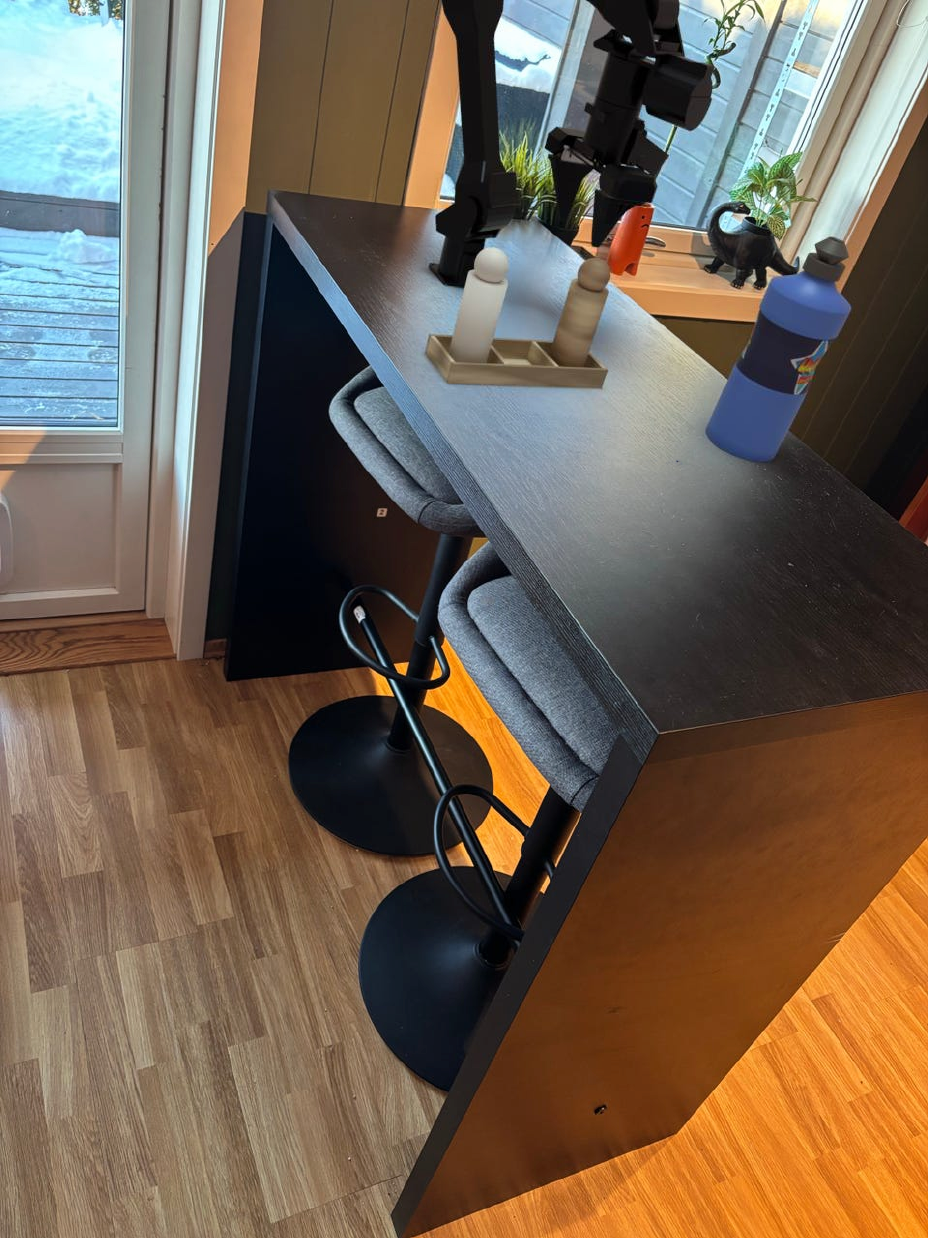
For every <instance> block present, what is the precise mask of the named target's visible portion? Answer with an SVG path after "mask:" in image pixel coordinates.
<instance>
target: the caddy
mask: <svg viewBox="0 0 928 1238" xmlns="http://www.w3.org/2000/svg"><path fill="white" fill-rule="evenodd" d="M452 336H453V334H452V335H451V334H437V333H436V334H435V333H433V334H432V333H429V334H428V339H427V343H426V346H425V351H424V354H425V356H426V357H427V358H428V360H429V361H430V362H431V363H432V365H433V366H434V367H435V369H436V370H437V371H438V372H439V374H440V375H441V377H442V378H443V379H444V381H445V382H446V383H447V384H448V385H450V384H451V385H475V386H481V385H482V386H483V385H484V386H509V387H512V386H513V387H515V386H517V387H538V388H539V387H541V388H542V387H546V388H547V387H548V388H575V389H578V388H579V389H603V386H604V383H605V381H606V378H607V376H608V373H609V369H608V368H607V367H606V366H605V365H604V364H603V363H602V362H601V361H599V359H597V357H595V355H594V354H592V353H591V352H590V351H589V353H588V356H587V359H586V362H585V365H584V367H561V366H558V365H557V364H556V363H555V362H554V361H553V360H552V359H551V358H550V357H549V353H550V349H551V346H552V343H553V340H543V339H542V340H541V339H540V340H539V339H526V338H525V339H524V338H506V337H505V338H504V337H503V338H502V337H493V341H492V344H491V348H490V352H489V355H488V359H487V363H467V362H455V361H454V360H453V358H452V357H451V356H450V355H449V349H450V345H451V341H452Z"/></svg>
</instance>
